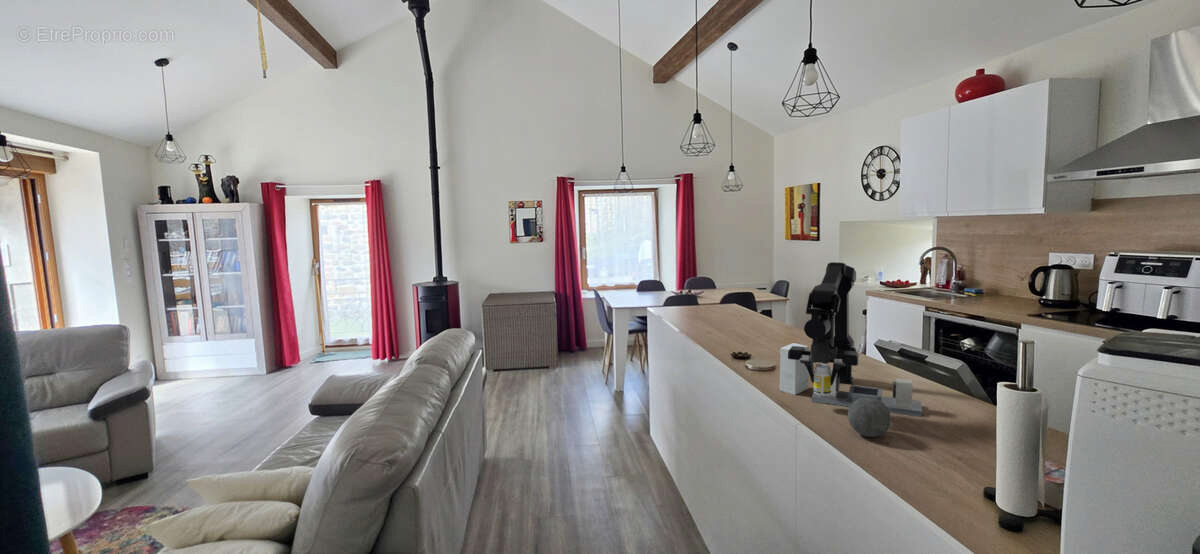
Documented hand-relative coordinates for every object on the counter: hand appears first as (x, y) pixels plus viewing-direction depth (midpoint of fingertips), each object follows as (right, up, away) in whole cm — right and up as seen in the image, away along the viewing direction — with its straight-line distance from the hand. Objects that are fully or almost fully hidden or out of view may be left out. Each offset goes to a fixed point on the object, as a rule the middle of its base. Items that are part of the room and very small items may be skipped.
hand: (822, 383), depth 155 cm
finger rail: (+14, -7, +3) cm, 16 cm away
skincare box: (-2, -6, +17) cm, 18 cm away
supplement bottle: (0, -3, 0) cm, 3 cm away
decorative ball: (+4, -10, -18) cm, 21 cm away
